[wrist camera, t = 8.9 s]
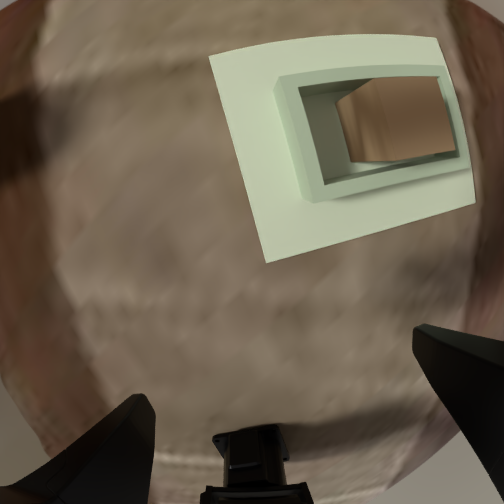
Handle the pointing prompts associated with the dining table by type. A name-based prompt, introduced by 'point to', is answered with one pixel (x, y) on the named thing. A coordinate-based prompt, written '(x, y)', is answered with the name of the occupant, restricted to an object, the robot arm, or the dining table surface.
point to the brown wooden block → (395, 119)
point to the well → (332, 140)
